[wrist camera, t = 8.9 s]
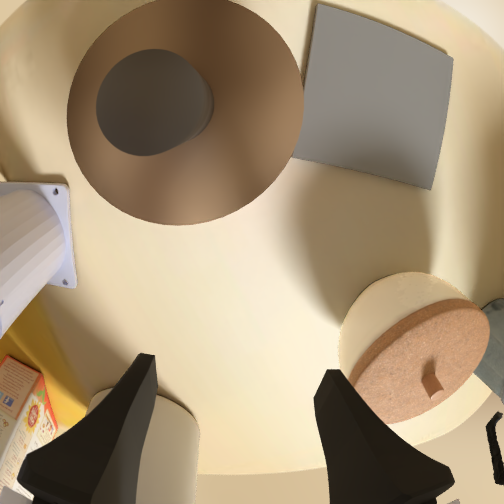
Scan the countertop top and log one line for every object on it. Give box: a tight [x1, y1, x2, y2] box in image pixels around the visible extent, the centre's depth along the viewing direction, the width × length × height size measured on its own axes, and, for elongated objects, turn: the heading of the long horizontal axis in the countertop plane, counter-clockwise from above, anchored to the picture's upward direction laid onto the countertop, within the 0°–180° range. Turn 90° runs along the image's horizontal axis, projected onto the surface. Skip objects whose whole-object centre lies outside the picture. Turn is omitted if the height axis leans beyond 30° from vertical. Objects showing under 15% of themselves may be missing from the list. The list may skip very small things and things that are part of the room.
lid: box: [67, 0, 304, 225], centre depth 9 cm, size 10×10×5 cm
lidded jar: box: [338, 272, 490, 424], centre depth 18 cm, size 11×11×9 cm
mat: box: [291, 4, 453, 190], centre depth 15 cm, size 10×10×1 cm
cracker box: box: [0, 355, 58, 500], centre depth 18 cm, size 14×6×21 cm, turn 159°
